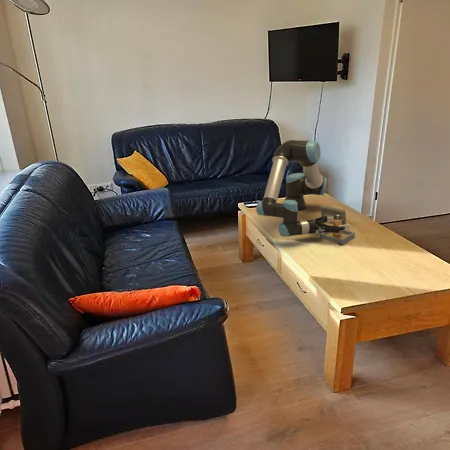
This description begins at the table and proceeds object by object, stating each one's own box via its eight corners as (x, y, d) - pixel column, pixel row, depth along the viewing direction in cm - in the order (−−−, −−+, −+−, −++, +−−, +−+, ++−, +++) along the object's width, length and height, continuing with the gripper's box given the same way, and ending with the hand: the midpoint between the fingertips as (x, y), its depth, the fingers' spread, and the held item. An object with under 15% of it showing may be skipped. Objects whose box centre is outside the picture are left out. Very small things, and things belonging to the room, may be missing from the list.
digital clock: (347, 224, 239) (349, 208, 235) (338, 228, 234) (339, 211, 230) (326, 217, 251) (327, 202, 247) (317, 221, 246) (317, 205, 242)
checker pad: (312, 225, 240) (312, 222, 239) (330, 229, 232) (330, 226, 232) (299, 232, 231) (299, 228, 230) (317, 237, 223) (318, 233, 222)
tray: (331, 231, 230) (332, 226, 229) (354, 237, 221) (354, 232, 220) (319, 239, 220) (319, 234, 219) (342, 245, 211) (342, 240, 210)
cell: (335, 234, 223) (336, 213, 219) (342, 236, 220) (343, 214, 216) (331, 237, 220) (332, 215, 216) (338, 239, 217) (339, 216, 213)
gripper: (298, 225, 227) (333, 221, 231) (316, 242, 204) (354, 237, 208) (298, 213, 224) (333, 209, 228) (316, 228, 201) (355, 224, 205)
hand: (343, 222), depth 218 cm, fingers open, 12 cm apart
